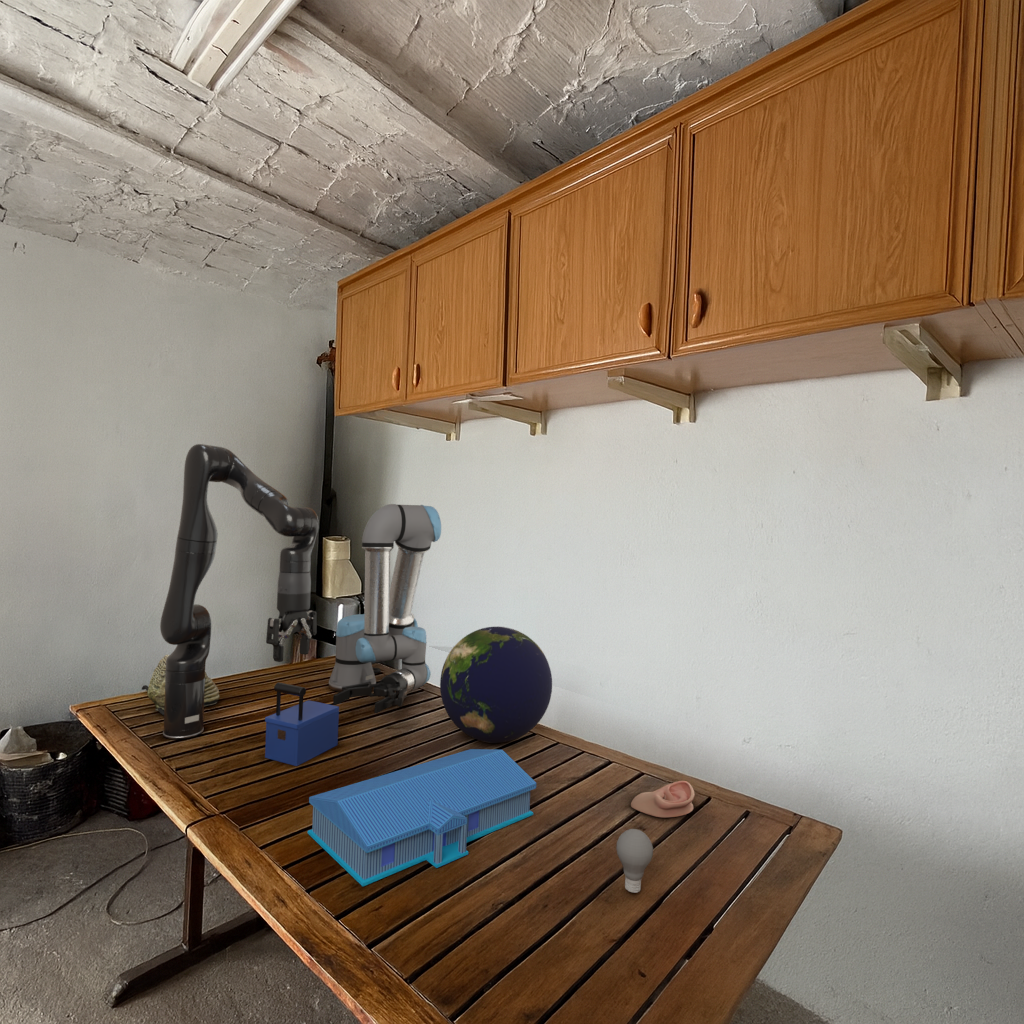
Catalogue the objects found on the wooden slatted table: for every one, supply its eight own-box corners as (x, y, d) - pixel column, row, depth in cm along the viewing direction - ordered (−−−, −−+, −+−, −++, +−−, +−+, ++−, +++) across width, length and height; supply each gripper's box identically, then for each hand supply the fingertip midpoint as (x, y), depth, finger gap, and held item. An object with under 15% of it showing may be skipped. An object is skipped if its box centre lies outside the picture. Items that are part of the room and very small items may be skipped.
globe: (416, 747, 162) (421, 630, 161) (468, 713, 189) (472, 613, 189) (525, 771, 150) (531, 645, 150) (563, 731, 178) (568, 624, 177)
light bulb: (610, 879, 108) (613, 822, 108) (644, 879, 109) (647, 822, 109) (619, 902, 102) (622, 840, 102) (655, 901, 103) (658, 840, 103)
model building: (372, 896, 101) (375, 834, 101) (306, 832, 119) (308, 779, 119) (545, 820, 127) (547, 771, 127) (469, 777, 146) (471, 734, 145)
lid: (296, 729, 148) (298, 691, 147) (264, 721, 152) (266, 684, 151) (339, 710, 161) (340, 675, 161) (308, 704, 165) (309, 670, 165)
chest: (296, 766, 148) (298, 728, 148) (264, 757, 152) (266, 721, 152) (337, 745, 162) (339, 710, 161) (307, 737, 166) (308, 704, 165)
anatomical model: (631, 794, 132) (632, 772, 143) (630, 813, 132) (631, 789, 143) (697, 803, 129) (693, 779, 140) (696, 822, 129) (692, 797, 141)
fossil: (144, 707, 182) (145, 655, 182) (212, 696, 194) (213, 647, 194) (151, 716, 175) (153, 662, 175) (221, 703, 188) (223, 653, 188)
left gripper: (284, 595, 143) (281, 666, 144) (326, 588, 156) (324, 653, 157) (259, 592, 146) (256, 661, 147) (302, 585, 159) (300, 649, 160)
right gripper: (432, 703, 189) (393, 725, 169) (361, 690, 198) (317, 710, 178) (433, 678, 189) (394, 697, 169) (362, 666, 198) (318, 683, 178)
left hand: (291, 657), depth 152 cm, fingers open, 8 cm apart
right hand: (354, 704), depth 174 cm, fingers open, 13 cm apart
